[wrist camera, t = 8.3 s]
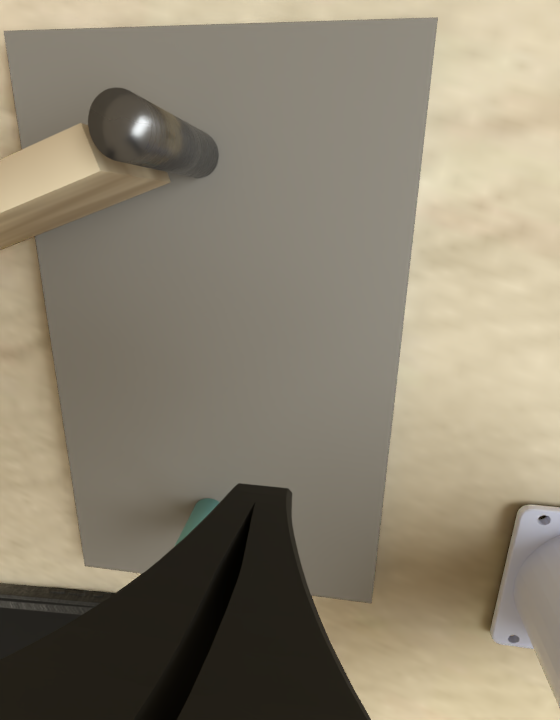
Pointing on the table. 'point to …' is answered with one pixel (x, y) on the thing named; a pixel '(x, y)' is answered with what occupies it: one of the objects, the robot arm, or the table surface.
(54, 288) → the gate board
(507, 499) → the table surface
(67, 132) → the gate
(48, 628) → the phone
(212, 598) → the robot arm
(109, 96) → the hinge post
